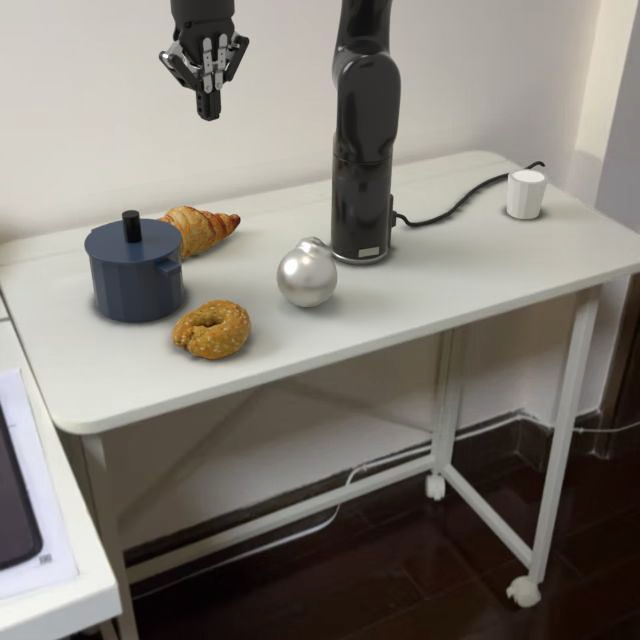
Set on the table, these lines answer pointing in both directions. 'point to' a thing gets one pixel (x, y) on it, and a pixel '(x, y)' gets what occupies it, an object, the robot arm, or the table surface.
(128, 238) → the pot lid
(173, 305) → the pot
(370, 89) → the robot arm
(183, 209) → the croissant
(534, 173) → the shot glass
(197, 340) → the bagel
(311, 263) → the silver round bulb
